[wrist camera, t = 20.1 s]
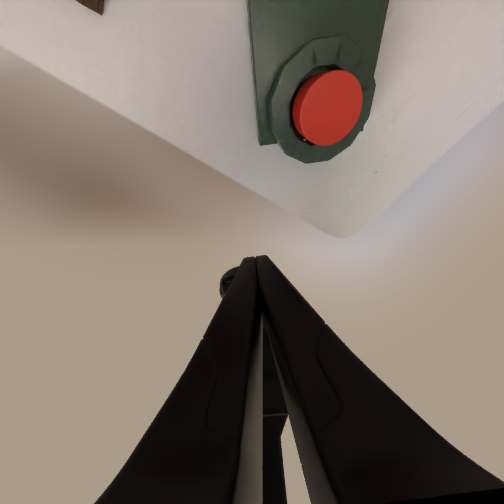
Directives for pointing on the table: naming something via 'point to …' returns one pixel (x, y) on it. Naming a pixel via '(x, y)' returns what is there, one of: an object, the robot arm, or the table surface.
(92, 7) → the brown rectangular tray
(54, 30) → the table surface
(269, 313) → the robot arm
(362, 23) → the block
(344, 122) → the button
